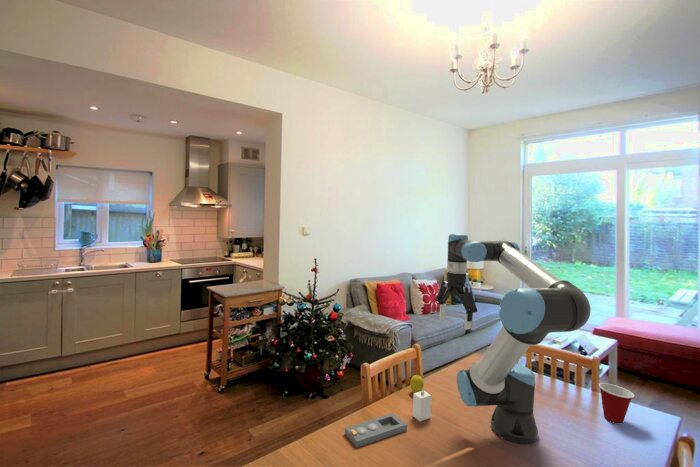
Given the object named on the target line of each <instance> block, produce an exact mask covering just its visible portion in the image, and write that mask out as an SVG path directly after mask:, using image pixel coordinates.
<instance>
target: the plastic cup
mask: <svg viewBox="0 0 700 467" xmlns="http://www.w3.org/2000/svg"><path fill="white" fill-rule="evenodd" d="M598 387H599V390H600V397H601V404H602V411H603V418H604V419H605V420H606V421H608V422H610V421H611V422H610V423H612V422H614V423H613V424H616V423H622V424H623V423H624V421H625V418H626V416H627V412H628V410H629V406H630V403H631V401H632V399H634V398H635V394H634V393H633V392H632V391H630V390H629V389H627V388H624V387H621V386H618V385H616V384H611V383H606V382H600V383H598Z"/></svg>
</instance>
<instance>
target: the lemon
mask: <svg viewBox="0 0 700 467" xmlns="http://www.w3.org/2000/svg"><path fill="white" fill-rule="evenodd" d="M409 384H410V385H409V387H410V389H411V390H412V391H413V393H417V392H420V391H423V389H424V380H423V377H422V376H420V375H419V374H415V375H413V376H412V377H411V378H410V383H409Z"/></svg>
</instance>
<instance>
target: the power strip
mask: <svg viewBox="0 0 700 467" xmlns="http://www.w3.org/2000/svg"><path fill="white" fill-rule="evenodd" d="M407 430H408V424H407V423H406V422H405V421H403V420H402V418H400V417H399V416H397V414H395V413H394V412H392V413H389V414H385V415H381V416H379V417H374V418H373V419H369V420H366V421H362V422H360V423H355V424H353V425H350V426H346V427H345V428H344V434H345V435H346V436H347V438H348V439H349V440H350V441H351V443H352V444H353V445H354V446H355V447H356V448H360V447H362V446H363V447H364V446H366V445H368V444H371V443H375V442H377V441H381V440H383V439H386V438H389V437H391V436H394V435H398V434H400V433H403V432H407Z"/></svg>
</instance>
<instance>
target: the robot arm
mask: <svg viewBox="0 0 700 467" xmlns="http://www.w3.org/2000/svg"><path fill="white" fill-rule="evenodd" d="M447 240H448V242H447V266H446V271H447V272H446V281H445V280H442V281H441V286H440V288H439V291H438V293H437V295H436V298H435V302H437V303H438V311H439V318H438V320H440V321H444V320H446V317H447V316H446V313H447V312H446V311H447V304H446V302H447V301H448V299H449V298H450V297H451V296H452V295H453V296H456V297H457V298H459V299H460V302H461V304H462V306H463V307H464V310H465V311H466V312H464V323H463V324H464V327H463V330H465V331H467V330H471V329H472V322H473V313H478V308H477V305H476V301H475V299H474V298H475V297H474V294H473V292H472V290H473V289H472V286H466V282H467V273H466V272H467V270H468V266H467V265H468V264H467V263H468V262H471V263H480V262H498V263H499V264H501V265H502V266H503V267H504V268H505V269H507V271H508V272H510V273H511V274H512V275H514V276H515V277H516V278H517V279H519V281H521V282H522V283H523V284H524V285H526V286H527V287H520V288H513V289H511V290H509V291H508V292H506V293H505V294H504V295H503V296H502V298H501V301H500V303H499V308H500V309H499V310H498V312H499V313H498V314H499V319H500V321H501V326H502V327H501V328H500V329H499V331H498V333H497V334H496V335H495V337H494V339H493V340H492V342H491V343H490V345H489V346H488V347H487V349H486V351H485V353H484V354H483V356H482V357H481V359H480V360H479V359H478V360H475V361H474V362H473V363H472V364H471V365H470V367H469V368H468V369H464V368H463V369H460V370H458V372H457V373H456V387H457V390H458V395H459V397H460V399H461V401H462V403H464V405H466V406H467V407H474V408H477V407H489V406H495V408H494V410H493V412H492V415H491V418H490V428H491V430H492V431H493V432H494V433H495V434H496V435H497V436H498V437H500V438H502V439H504V440H506V441H509V442H512V443H515V444H519V445H520V444H522V445H528V444H529V445H530V444H533V443H535V442H536V441H537V440H538V437H539V436H538V435H539V430H538V429H539V428H538V426H537V423H536V419H535V416H534V408H535V407H534V406H535V405H534V404H535V389H536V388H535V387H536V376H535V373H534V372H533V370H531V369H530V368H528V367H526V366H524V365H522V364H520V363H518V362H519V361H520V359H522V357H523V356H524V354H525V353H526V352H527V351H528V349H529V348H530V347H531V346H537V345H539V344H540V343H542V342H543V341H544V339H545V338H546V337H547V336H548V334H550V333H568V332H569V333H570V332H574V331H578V330H580V329H581V328H582V327H584V326H585V325H586V323H587V322H588V321H589V318H590V317H591V311H592V309H591V304H590V301H589V299H588V297H587V296H586V294H585V293H584V292H583V291H582V290H581V289H580V288H578V286H576V285H574V284H573V283H571V282H570V281H568V280H564V279H560V278H558V276H557V277H556V275H554V274H553V273H552V272H549V271H548V270H546V269H545V268H544V267H542V266H541V265H540V264H538V263H536V262H535V261H534V260H532V259H531V258H529V257H527V255H525V254H523V253H522V252H521V248H520V246H519V244H518V243H517V242H515V241H510V240H509V241H508V240H469V236H468V234H466V233H465V234H464V233H449V235H448V238H447Z"/></svg>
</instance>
